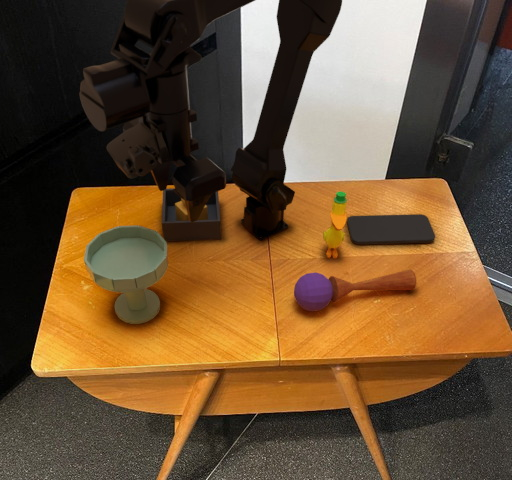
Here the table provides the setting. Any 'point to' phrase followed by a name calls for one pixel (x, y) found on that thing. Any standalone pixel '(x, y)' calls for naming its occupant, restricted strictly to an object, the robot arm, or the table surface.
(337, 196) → the toy figure
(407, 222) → the phone
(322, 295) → the kendama
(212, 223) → the bin
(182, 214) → the orange block
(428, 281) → the table surface
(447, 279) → the table surface
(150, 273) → the footed bowl
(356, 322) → the table surface
